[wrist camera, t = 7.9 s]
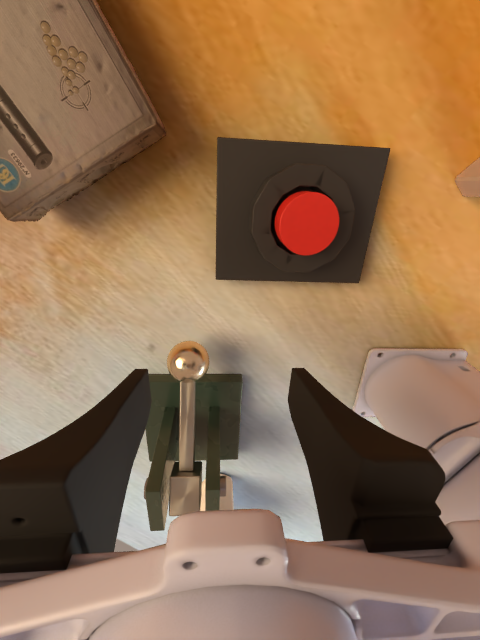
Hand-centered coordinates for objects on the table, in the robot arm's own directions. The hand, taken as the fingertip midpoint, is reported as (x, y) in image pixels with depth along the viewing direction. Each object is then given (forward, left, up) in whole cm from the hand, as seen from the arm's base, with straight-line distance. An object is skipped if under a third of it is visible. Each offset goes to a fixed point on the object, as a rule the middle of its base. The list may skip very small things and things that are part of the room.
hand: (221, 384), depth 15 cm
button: (-5, -7, -8) cm, 12 cm away
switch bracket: (+2, +12, -10) cm, 16 cm away
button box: (-5, -7, -10) cm, 14 cm away
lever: (+2, +8, -6) cm, 11 cm away
